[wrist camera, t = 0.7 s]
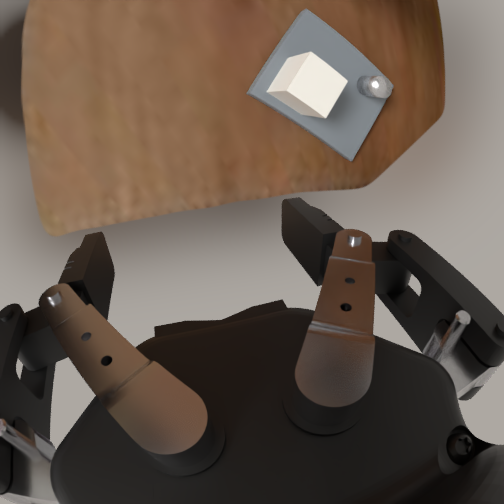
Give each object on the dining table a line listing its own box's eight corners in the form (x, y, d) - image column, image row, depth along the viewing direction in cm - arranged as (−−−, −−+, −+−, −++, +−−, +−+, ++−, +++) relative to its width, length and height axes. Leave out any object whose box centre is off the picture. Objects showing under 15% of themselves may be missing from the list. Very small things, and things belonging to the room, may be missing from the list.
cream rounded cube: (287, 57, 28) (311, 51, 23) (321, 81, 31) (348, 81, 26) (266, 92, 30) (286, 90, 25) (301, 114, 33) (325, 118, 28)
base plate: (301, 11, 26) (306, 8, 25) (387, 85, 35) (393, 85, 34) (246, 93, 31) (249, 93, 30) (346, 159, 39) (351, 161, 38)
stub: (362, 71, 31) (380, 71, 28) (376, 85, 33) (394, 86, 30) (353, 87, 32) (371, 88, 29) (367, 100, 34) (386, 102, 31)
